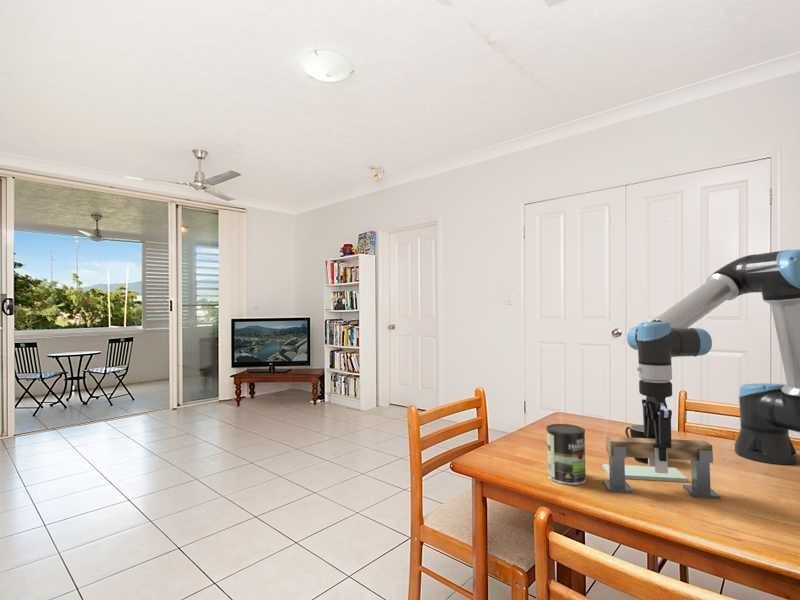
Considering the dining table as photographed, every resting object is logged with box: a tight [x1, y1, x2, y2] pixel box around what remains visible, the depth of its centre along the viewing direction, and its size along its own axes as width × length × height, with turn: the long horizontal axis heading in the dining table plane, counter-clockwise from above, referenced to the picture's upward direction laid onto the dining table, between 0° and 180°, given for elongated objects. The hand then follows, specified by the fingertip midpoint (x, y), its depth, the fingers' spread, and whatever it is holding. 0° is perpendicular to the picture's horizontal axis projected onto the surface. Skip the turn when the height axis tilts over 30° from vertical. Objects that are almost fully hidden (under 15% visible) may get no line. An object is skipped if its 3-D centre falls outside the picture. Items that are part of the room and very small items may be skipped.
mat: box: [601, 463, 689, 483], centre depth 121 cm, size 20×8×1 cm, turn 79°
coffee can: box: [545, 423, 587, 486], centre depth 120 cm, size 10×10×14 cm
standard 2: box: [682, 449, 722, 500], centre depth 109 cm, size 6×6×12 cm
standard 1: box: [601, 446, 634, 495], centre depth 113 cm, size 6×6×12 cm
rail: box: [605, 436, 713, 461], centre depth 111 cm, size 24×4×4 cm, turn 79°
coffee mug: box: [625, 424, 648, 465], centre depth 134 cm, size 12×9×10 cm
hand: (657, 469), depth 111 cm, fingers closed on rail, 4 cm apart
